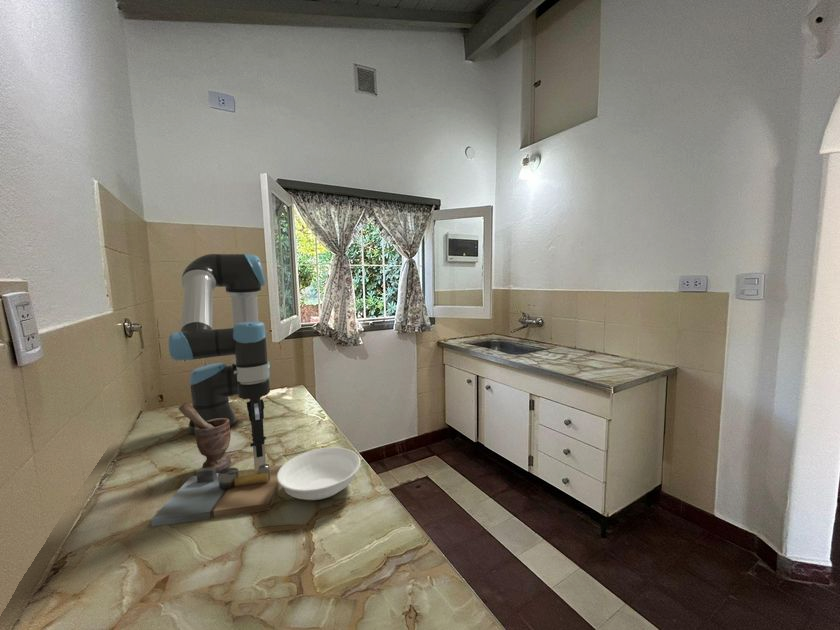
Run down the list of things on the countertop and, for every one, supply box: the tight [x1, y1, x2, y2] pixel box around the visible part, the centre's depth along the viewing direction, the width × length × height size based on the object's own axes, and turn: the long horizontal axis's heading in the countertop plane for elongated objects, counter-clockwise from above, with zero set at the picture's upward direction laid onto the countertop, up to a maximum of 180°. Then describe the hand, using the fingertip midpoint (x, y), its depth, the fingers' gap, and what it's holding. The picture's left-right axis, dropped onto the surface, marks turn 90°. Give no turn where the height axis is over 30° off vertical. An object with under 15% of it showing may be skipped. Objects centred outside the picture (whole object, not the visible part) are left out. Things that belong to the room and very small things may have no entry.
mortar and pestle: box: [178, 402, 232, 473], centre depth 94 cm, size 12×9×20 cm
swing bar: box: [218, 463, 271, 489], centre depth 84 cm, size 12×4×4 cm, turn 100°
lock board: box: [150, 464, 284, 527], centre depth 82 cm, size 17×24×5 cm
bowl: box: [277, 447, 362, 501], centre depth 82 cm, size 20×20×6 cm
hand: (260, 466), depth 89 cm, fingers closed
